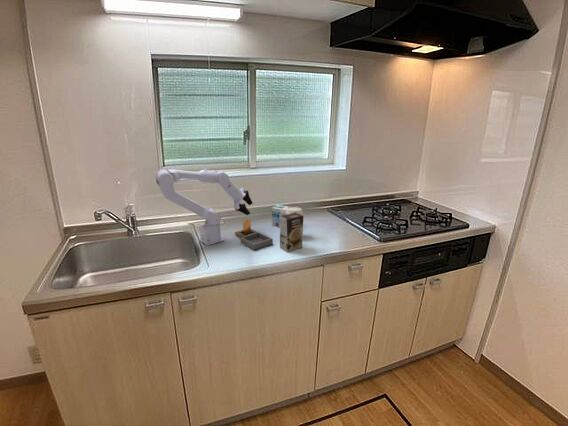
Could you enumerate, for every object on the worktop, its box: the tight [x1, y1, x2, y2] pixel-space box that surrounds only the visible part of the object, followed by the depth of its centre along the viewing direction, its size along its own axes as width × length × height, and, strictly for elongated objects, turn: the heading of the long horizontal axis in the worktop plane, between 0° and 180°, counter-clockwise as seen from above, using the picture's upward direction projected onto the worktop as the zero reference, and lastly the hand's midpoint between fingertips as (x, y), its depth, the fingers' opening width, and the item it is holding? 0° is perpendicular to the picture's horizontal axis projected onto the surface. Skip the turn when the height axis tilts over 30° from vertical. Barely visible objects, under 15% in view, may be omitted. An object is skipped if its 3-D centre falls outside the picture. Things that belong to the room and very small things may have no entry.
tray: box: [240, 231, 273, 251], centre depth 153 cm, size 11×11×3 cm
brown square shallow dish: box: [234, 228, 259, 239], centre depth 162 cm, size 9×9×2 cm
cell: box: [242, 218, 252, 235], centre depth 161 cm, size 4×4×9 cm
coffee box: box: [279, 213, 304, 253], centre depth 147 cm, size 9×6×16 cm
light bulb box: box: [271, 204, 291, 228], centre depth 175 cm, size 11×7×11 cm, turn 62°
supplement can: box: [286, 206, 304, 216], centre depth 160 cm, size 8×8×15 cm
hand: (249, 209), depth 161 cm, fingers open, 7 cm apart
